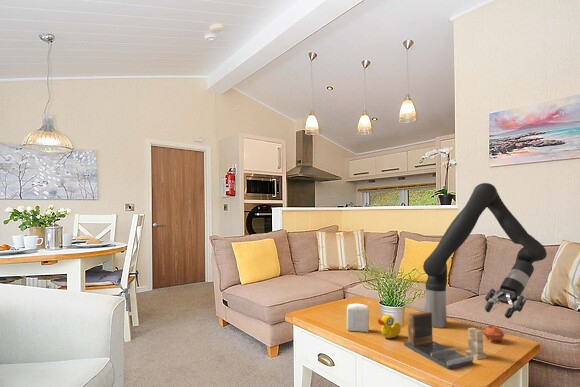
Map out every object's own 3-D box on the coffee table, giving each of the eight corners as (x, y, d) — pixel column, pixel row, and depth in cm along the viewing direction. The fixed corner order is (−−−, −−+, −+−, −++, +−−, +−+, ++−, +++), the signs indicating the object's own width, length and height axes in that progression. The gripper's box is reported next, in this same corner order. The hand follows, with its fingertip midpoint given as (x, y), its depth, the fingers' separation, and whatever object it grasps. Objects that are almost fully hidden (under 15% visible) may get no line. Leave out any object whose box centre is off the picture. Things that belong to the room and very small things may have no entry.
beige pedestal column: (465, 354, 135) (465, 328, 135) (475, 352, 137) (474, 326, 137) (476, 359, 130) (476, 332, 131) (486, 357, 132) (485, 330, 132)
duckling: (381, 341, 148) (381, 318, 148) (374, 337, 153) (374, 314, 153) (403, 338, 151) (403, 315, 152) (396, 334, 157) (395, 311, 157)
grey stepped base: (404, 345, 143) (404, 338, 144) (426, 341, 148) (426, 334, 148) (448, 369, 122) (448, 362, 122) (473, 364, 126) (473, 356, 126)
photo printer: (368, 329, 163) (368, 303, 163) (369, 332, 158) (369, 305, 159) (346, 328, 164) (346, 302, 165) (346, 331, 160) (346, 304, 161)
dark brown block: (408, 342, 142) (407, 313, 143) (427, 339, 146) (426, 310, 147) (414, 345, 139) (413, 315, 140) (433, 342, 143) (432, 313, 143)
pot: (503, 345, 142) (498, 329, 143) (483, 345, 147) (478, 329, 149) (508, 339, 148) (503, 323, 149) (488, 339, 153) (483, 323, 154)
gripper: (494, 273, 149) (475, 303, 144) (527, 280, 136) (508, 313, 131) (503, 285, 151) (485, 314, 146) (537, 292, 137) (518, 325, 133)
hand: (496, 314), depth 138 cm, fingers open, 8 cm apart
